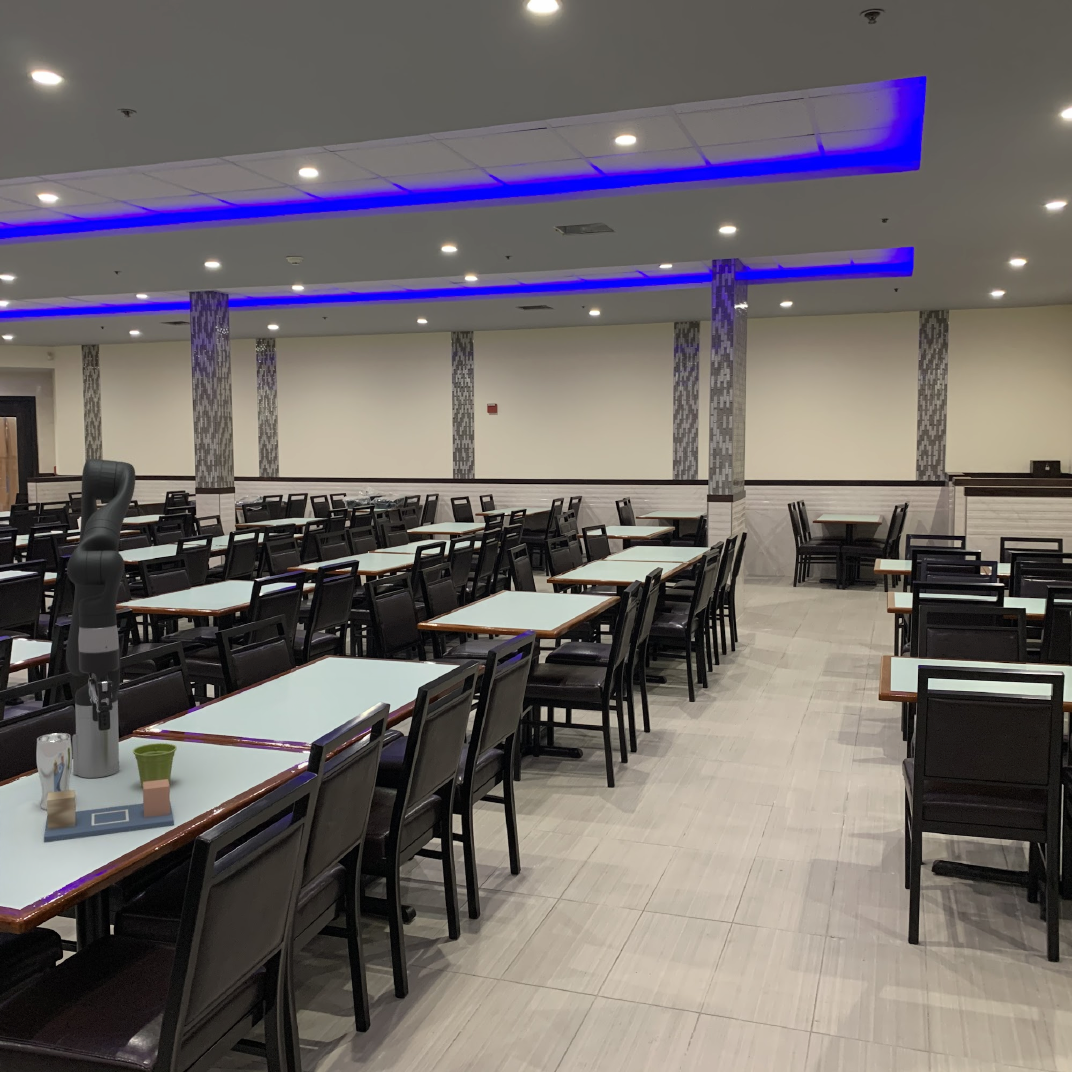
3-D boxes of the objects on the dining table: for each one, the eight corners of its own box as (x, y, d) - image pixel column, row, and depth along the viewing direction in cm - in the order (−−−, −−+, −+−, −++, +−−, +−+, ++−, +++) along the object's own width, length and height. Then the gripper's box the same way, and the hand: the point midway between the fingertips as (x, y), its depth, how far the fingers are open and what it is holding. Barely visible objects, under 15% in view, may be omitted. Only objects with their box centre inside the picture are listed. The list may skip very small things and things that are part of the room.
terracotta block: (144, 817, 206) (143, 789, 205) (143, 809, 210) (142, 781, 210) (170, 814, 208) (169, 786, 207) (168, 806, 212) (168, 779, 212)
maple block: (47, 829, 199) (46, 800, 198) (48, 821, 203) (48, 792, 203) (75, 826, 201) (74, 797, 200) (75, 817, 205) (75, 789, 205)
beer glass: (50, 813, 211) (48, 743, 209) (31, 806, 214) (29, 738, 213) (80, 803, 216) (78, 736, 215) (61, 797, 220) (59, 731, 219)
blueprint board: (44, 842, 195) (43, 836, 195) (47, 819, 207) (47, 814, 207) (173, 825, 204) (173, 819, 204) (169, 804, 216) (169, 799, 216)
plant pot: (142, 778, 233) (142, 742, 232) (183, 779, 233) (182, 743, 233) (126, 792, 224) (126, 754, 223) (168, 792, 224) (168, 755, 223)
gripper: (124, 651, 200) (126, 730, 201) (113, 640, 212) (115, 715, 213) (83, 655, 196) (86, 735, 197) (74, 643, 208) (77, 720, 209)
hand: (101, 725), depth 205 cm, fingers open, 8 cm apart
